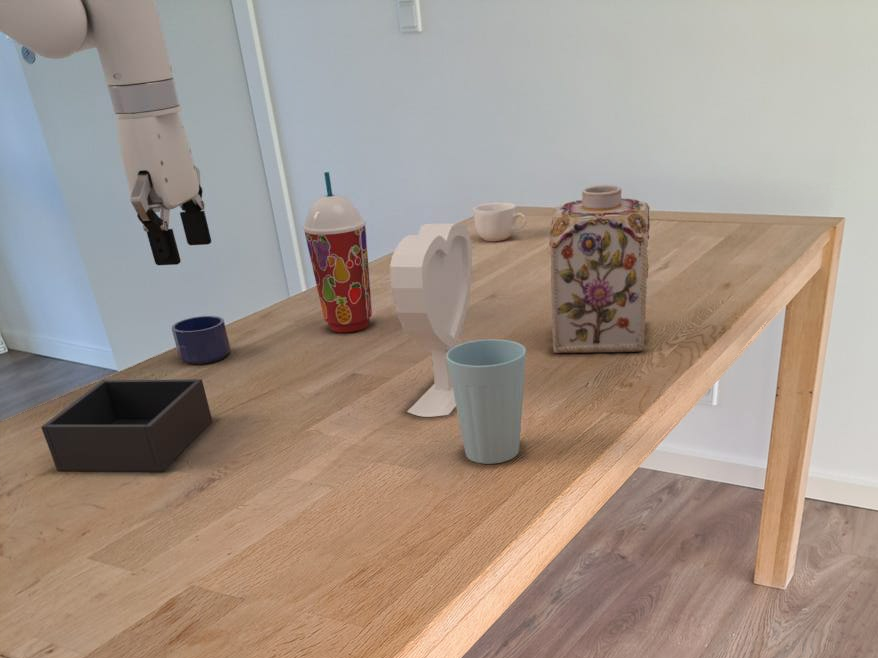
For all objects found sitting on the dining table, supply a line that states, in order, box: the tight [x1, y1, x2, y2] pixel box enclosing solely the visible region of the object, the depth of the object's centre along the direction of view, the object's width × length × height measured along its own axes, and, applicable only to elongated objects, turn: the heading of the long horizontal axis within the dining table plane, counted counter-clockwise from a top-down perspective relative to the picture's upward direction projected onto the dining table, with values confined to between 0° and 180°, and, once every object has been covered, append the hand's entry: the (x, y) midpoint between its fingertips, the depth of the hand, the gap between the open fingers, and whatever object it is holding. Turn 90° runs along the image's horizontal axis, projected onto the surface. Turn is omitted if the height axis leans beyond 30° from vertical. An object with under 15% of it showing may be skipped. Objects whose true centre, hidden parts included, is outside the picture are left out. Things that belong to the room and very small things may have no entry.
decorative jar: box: [548, 184, 651, 354], centre depth 115 cm, size 12×12×18 cm
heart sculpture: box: [389, 222, 473, 418], centre depth 102 cm, size 16×5×18 cm, turn 162°
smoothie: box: [302, 171, 373, 334], centre depth 126 cm, size 8×8×20 cm
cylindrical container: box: [171, 315, 231, 365], centre depth 123 cm, size 7×7×4 cm
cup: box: [446, 338, 527, 465], centre depth 91 cm, size 8×8×10 cm
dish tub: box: [40, 378, 213, 473], centre depth 100 cm, size 12×13×5 cm
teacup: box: [472, 202, 527, 242], centre depth 167 cm, size 10×8×5 cm
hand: (184, 253), depth 117 cm, fingers open, 9 cm apart
